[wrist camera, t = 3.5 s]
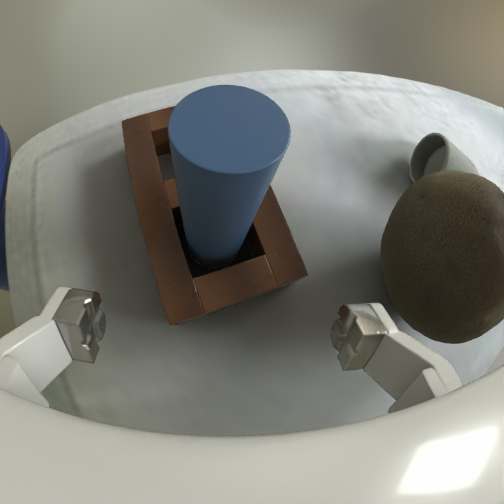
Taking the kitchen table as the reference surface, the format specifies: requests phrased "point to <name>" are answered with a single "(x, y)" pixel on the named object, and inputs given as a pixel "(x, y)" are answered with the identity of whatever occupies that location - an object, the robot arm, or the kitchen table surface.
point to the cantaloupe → (447, 256)
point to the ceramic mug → (438, 157)
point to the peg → (224, 165)
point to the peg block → (169, 217)
